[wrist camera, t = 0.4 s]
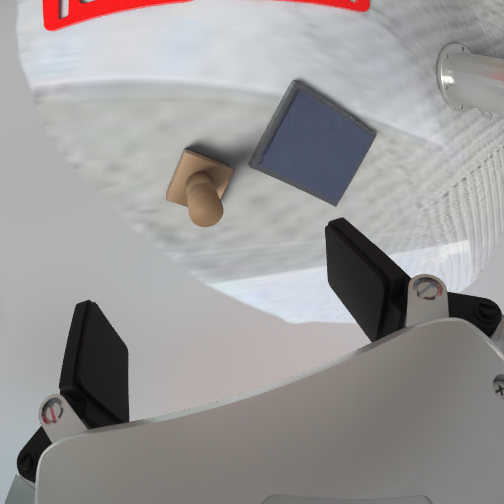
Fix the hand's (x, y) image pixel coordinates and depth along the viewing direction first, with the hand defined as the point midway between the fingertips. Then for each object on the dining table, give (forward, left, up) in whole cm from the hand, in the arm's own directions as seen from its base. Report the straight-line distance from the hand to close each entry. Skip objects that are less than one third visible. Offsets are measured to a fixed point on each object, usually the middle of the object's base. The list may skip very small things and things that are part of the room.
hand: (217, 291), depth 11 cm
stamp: (-3, +3, -27) cm, 27 cm away
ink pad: (-15, -7, -26) cm, 31 cm away
